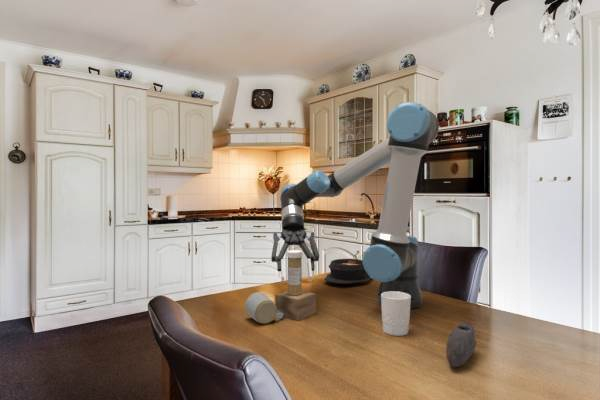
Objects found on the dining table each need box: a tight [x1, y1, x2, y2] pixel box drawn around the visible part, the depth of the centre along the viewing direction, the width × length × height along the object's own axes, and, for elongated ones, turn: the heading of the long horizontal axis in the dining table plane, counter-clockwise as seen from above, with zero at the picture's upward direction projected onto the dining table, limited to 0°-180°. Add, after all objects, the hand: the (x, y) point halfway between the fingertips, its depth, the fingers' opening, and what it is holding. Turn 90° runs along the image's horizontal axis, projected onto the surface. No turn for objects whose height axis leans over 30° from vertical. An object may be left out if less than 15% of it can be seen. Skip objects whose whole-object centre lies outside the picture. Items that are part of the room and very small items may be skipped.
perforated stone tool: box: [445, 321, 477, 368], centre depth 87 cm, size 15×5×7 cm, turn 143°
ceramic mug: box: [244, 291, 284, 325], centre depth 114 cm, size 11×8×8 cm
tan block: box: [274, 290, 317, 322], centre depth 120 cm, size 9×9×6 cm
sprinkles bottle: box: [286, 249, 303, 295], centre depth 119 cm, size 5×5×14 cm
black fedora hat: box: [323, 258, 372, 285], centre depth 163 cm, size 25×19×8 cm
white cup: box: [380, 291, 411, 337], centre depth 105 cm, size 8×8×10 cm
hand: (296, 279), depth 116 cm, fingers open, 8 cm apart
